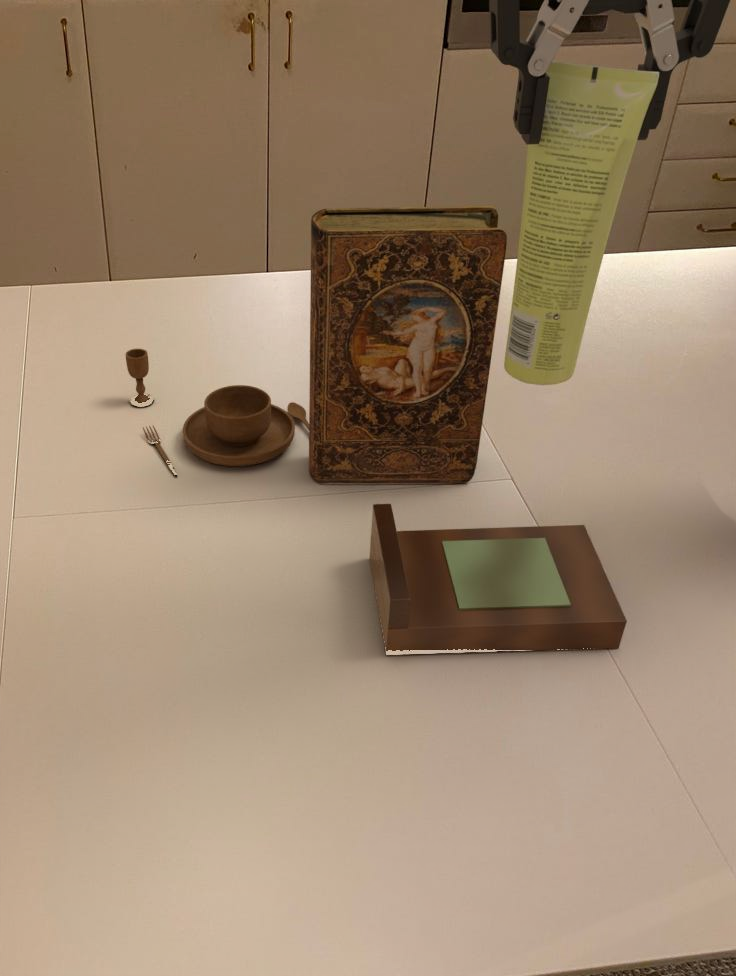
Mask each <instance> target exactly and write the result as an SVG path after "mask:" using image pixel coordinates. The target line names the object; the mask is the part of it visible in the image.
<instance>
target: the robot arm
mask: <svg viewBox="0 0 736 976" xmlns="http://www.w3.org/2000/svg"><path fill="white" fill-rule="evenodd" d="M730 2H731V0H690V1H689V4H688V6H687V9H686V12H685V16H684V17H683V22H681V26H680V28H679V30H678V31H675V26H674V25H675V21H676V20H675V19H676V18H675V11H674V7H673V2H672V0H543V2H542V4H541V6H540V8H539V10H538V13H537V17H536V21H535V22H534V25H533V27H532V28H531V31H530V32H529V34H528V36H527V38H526V40H523V39H521V36H520V35H521V33H520V32H521V31H520V30H521V28H520V27H521V25H520V24H521V23H520V21H521V18H520V17H521V14H520V13H521V11H520V10H521V9H520V6H521V5H520V3H521V2H520V0H488V5H489V6H488V7H489V48H490V51H491V52H492V53H493V54H494V55H495V57H496V58H497V60H499V62H500V63H501V64H502V65H505V66H510V67H513V68H516V69H517V71H518V78H517V86H516V92H515V101H514V109H513V115H512V120H513V124H514V127H515V128H514V129H516V131H517V133H518V134H519V135H521V139H522V140H523V141H524V143H525V144H526V145H527V146H528V145H529V144H539V143H540V139H541V133H542V127H543V120H544V113H545V107H546V100H547V94H548V87H549V80H550V77H549V76H548V75H547V74H546V71H547V69H548V68H549V66H550V64H551V62H552V61H554V59H555V57H556V55H557V54H558V51H559V50H560V49H561V46H562V44H563V42H564V41H565V40H566V39H567V38H569V36H570V35H571V34H572V32H573V30H574V29H575V27H576V25H577V24H578V21H579V20H580V18H581V16H595V15H600V14H603V13H606V12H609V11H614V12H615V11H616V12H619V13H623V14H633V16H634V19H635V21H636V23H637V25H638V29H639V35H640V39H641V43H642V44H641V45H642V48H643V49H642V50H643V53H644V54H643V55H644V60H643V61H644V62H643V63H638V65H637V69H636V70H639V71H652V72H659V78H658V83H657V86H656V89H655V91H654V94H653V96H652V99H651V101H650V103H649V106H648V109H647V112H646V114H645V117H644V120H643V123H642V126H641V129H640V132H639V135H638V139H637V142H638V141H646V140H647V139H648V137H649V134H650V130H656V129H657V127H658V126H659V124H660V122H661V120H662V117H663V112H664V107H665V104H666V103H665V101H666V98H667V94H668V89H669V85H670V80H671V76H672V73H673V71H674V70H675V68H677V66H678V65H679V64H681V63H683V62H685V61H688V60H690V59H693V58H698V59H700V58H701V59H702V58H704V57H706V56H707V55H709V54H710V53H711V51H712V50H713V47H714V45H715V41H716V39H717V37H718V34H719V31H720V29H721V27H722V23H723V21H724V19H725V16H726V13H727V11H728V8H729V5H730Z"/></svg>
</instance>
